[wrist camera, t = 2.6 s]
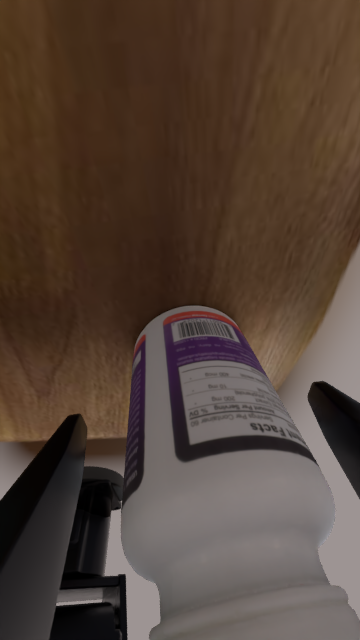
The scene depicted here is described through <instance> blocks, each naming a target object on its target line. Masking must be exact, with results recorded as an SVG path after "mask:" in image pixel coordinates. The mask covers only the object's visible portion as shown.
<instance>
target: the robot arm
mask: <svg viewBox="0 0 360 640" xmlns="http://www.w3.org/2000/svg"><path fill="white" fill-rule="evenodd" d="M308 401H309V403H310V406H311V408H312V410H313V412H314V415H315V417H316V419H317V422H318V424H319V426H320V428H321V430H322V432H323V435H324V436H325V439H326V441H327V442H328V444H329V446H330V448H331V449H332V451H333V453H334V455H335V457H336V458H337V460H338V462H339V464H340V465H341V467H342V469H343V471H344V472H345V474H346V476H347V478H348V479H349V481H350V483H351V485H352V486H353V488H354V490H355V492H356V493H357V495H358V497H359V499H360V403H359V402H357V401H355V400H354V399H352V398H351V397H349V396H347V395H346V394H344V393H342V392H341V391H339V390H338V389H336V388H334V387H333V386H331V385H330V384H328V383H326V382H324V381H319V382H313V383H312V385H311V388H310V390H309V393H308ZM86 440H87V426H86V424H85V421H84V419H83V417H82V415H81V414H73V415H69V416H68V417H67V418H66V419H65V420H64V421H63V423H62V424H61V425H60V426H59V428H58V429H57V430H56V431H55V433H54V434H53V435H52V436H51V438H50V439H49V440H48V441H47V443H46V444H45V445H44V447H43V448H42V449H41V450H40V451H39V453H38V454H37V455H36V456H35V458H34V459H33V460H32V462H31V463H30V464H29V465H28V467H27V468H26V469H25V470H24V472H23V473H22V474H21V475H20V477H19V478H18V479H17V480H16V482H15V483H14V484H13V485H12V487H11V488H10V489H9V490H8V492H7V493H6V494H5V495H4V497H3V498H2V499H1V500H0V640H127V611H126V610H127V609H126V576H125V574H119V575H118V576H104V573H105V564H106V555H107V546H108V537H109V528H110V518H111V511H114V510H119V509H121V504H122V503H121V501H120V499H119V497H118V495H117V493H116V491H115V489H114V487H113V485H112V483H111V481H110V480H107V479H104V480H97V481H90V482H84V483H81V482H82V477H83V469H84V460H85V450H86ZM97 599H102V602H101V603H88V604H76V605H63V606H56V603H58V602H71V601H84V600H97Z"/></svg>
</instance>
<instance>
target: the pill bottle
mask: <svg viewBox="0 0 360 640" xmlns="http://www.w3.org/2000/svg"><path fill="white" fill-rule="evenodd" d="M334 521H335V504H334V498H333V495H332V492H331V489H330V487H329V485H328V483H327V481H326V480H325V477H324V476H323V474H322V472H321V470H320V468H319V466H318V464H317V462H316V460H315V459H314V457H313V455H312V453H311V452H310V450H309V448H308V446H307V445H306V443H305V441H304V440H303V438H302V436H301V434H300V433H299V431H298V429H297V428H296V426H295V424H294V422H293V420H292V419H291V417H290V415H289V414H288V412H287V410H286V409H285V407H284V405H283V403H282V402H281V400H280V398H279V396H278V395H277V393H276V391H275V389H274V388H273V386H272V384H271V382H270V381H269V379H268V377H267V375H266V373H265V372H264V370H263V368H262V367H261V365H260V363H259V361H258V360H257V358H256V356H255V354H254V352H253V351H252V349H251V347H250V345H249V344H248V342H247V340H246V338H245V337H244V335H243V333H242V332H241V330H240V329H239V327H238V326H237V324H236V323H235V322H234V321H233V320H232V319H231V318H230V317H229V316H227V315H226V314H224V313H222V312H220V311H218V310H216V309H213V308H209V307H205V306H183V307H178V308H175V309H172V310H169V311H167V312H165V313H163V314H161V315H159V316H157V317H156V318H154V319H153V320H152V321H151V322H150V323H149V324H148V325H147V326H146V327H145V328H144V329H143V331H142V332H141V333H140V335H139V337H138V339H137V342H136V345H135V349H134V356H133V365H132V379H131V394H130V407H129V420H128V433H127V446H126V460H125V472H124V483H123V498H122V509H121V541H122V546H123V550H124V554H125V556H126V558H127V560H128V562H129V564H130V565H131V566H132V568H133V569H134V570H135V572H136V573H137V574H139V575H140V576H142V577H143V578H145V579H146V580H149V581H151V582H154V583H156V585H157V587H158V590H159V595H160V616H161V622H160V624H158V625H157V626H155V627H154V628H152V630H151V631H150V634H149V639H150V640H360V621H359V619H358V617H357V614H356V612H355V611H354V610H353V609H352V608H351V607H350V606H349V604H348V596H347V594H346V592H345V590H344V589H342V588H341V587H339V586H332V585H330V583H329V581H328V579H327V577H326V574H325V572H324V570H323V568H322V565H321V562H320V560H319V555H318V548H319V547H320V546H321V545H322V544H323V543H324V541H325V540H326V539H327V538H328V536H329V535H330V533H331V531H332V528H333V525H334Z"/></svg>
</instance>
